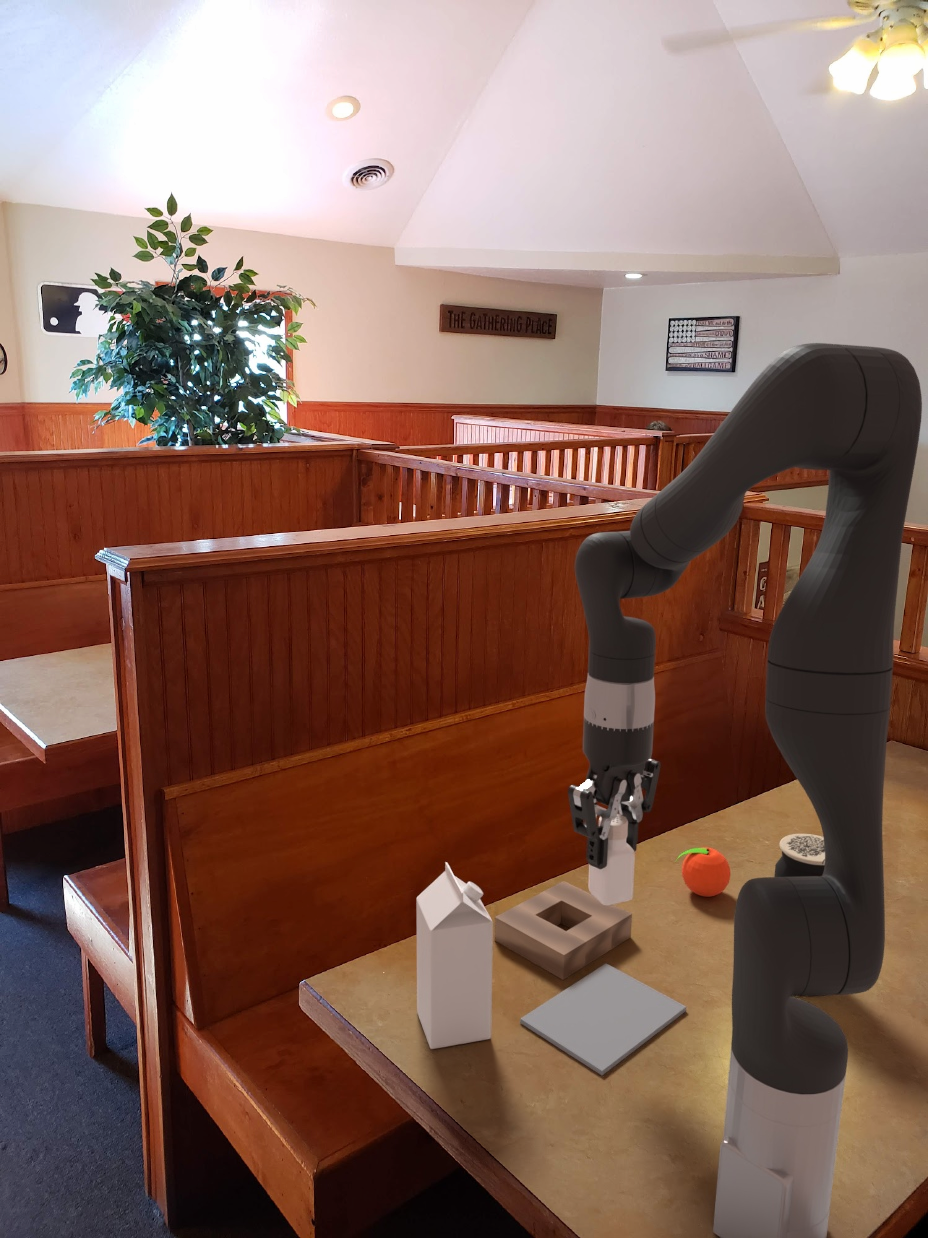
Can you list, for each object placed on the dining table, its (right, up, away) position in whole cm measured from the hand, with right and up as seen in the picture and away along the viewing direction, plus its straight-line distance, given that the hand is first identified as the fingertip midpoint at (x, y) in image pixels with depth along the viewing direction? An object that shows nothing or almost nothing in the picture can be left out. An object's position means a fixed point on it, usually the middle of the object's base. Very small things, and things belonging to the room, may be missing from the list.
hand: (612, 857), depth 107 cm
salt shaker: (0, -5, +1) cm, 5 cm away
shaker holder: (-3, -16, +21) cm, 27 cm away
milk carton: (-18, -21, +3) cm, 27 cm away
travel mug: (+25, -19, +13) cm, 34 cm away
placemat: (0, -20, +5) cm, 21 cm away
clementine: (+18, -14, +33) cm, 40 cm away
